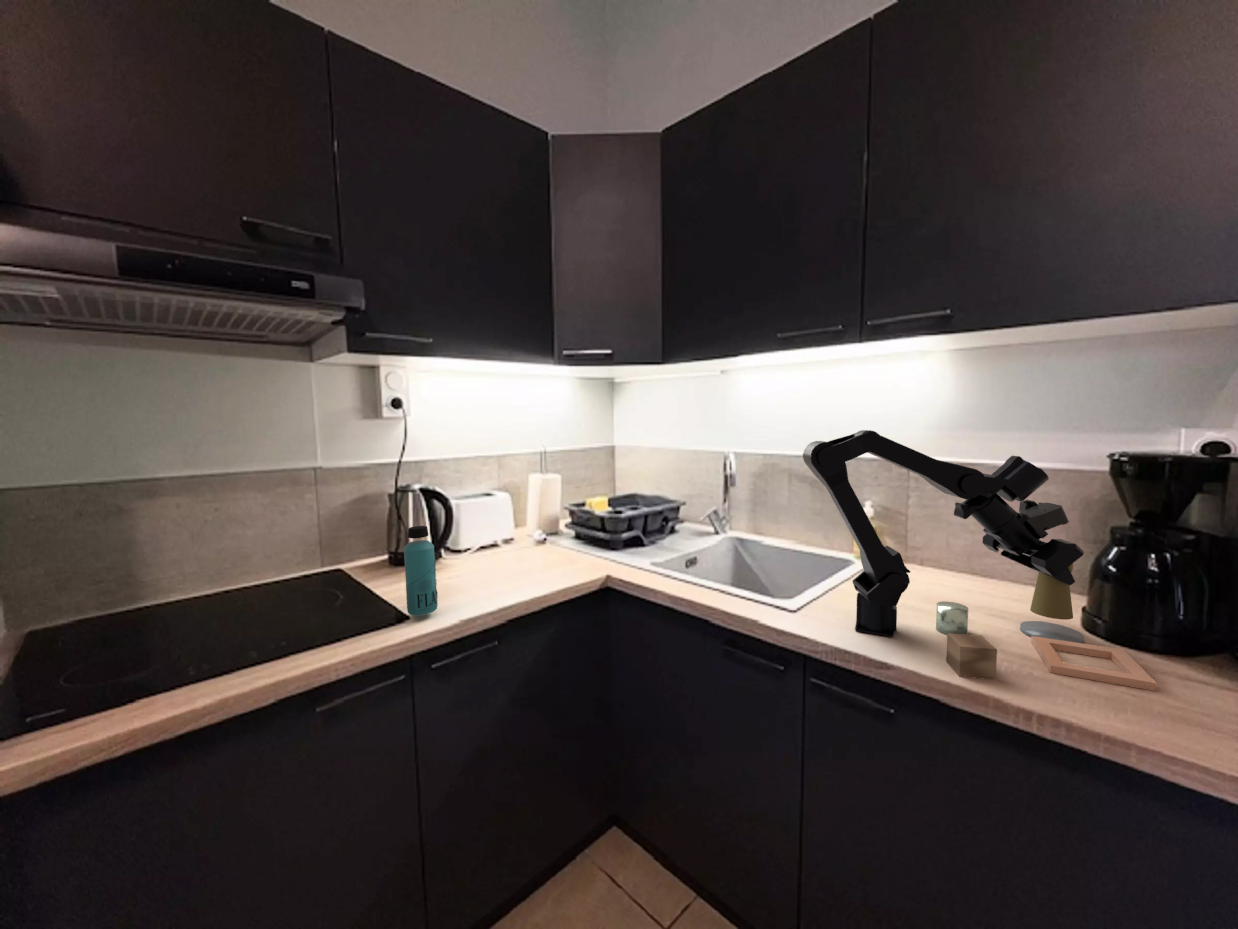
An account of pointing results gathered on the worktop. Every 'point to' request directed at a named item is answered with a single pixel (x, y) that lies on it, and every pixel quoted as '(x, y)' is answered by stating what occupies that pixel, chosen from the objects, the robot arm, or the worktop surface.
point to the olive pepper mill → (1052, 598)
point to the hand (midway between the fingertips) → (1061, 578)
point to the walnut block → (971, 656)
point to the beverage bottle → (420, 573)
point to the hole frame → (1129, 676)
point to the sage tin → (951, 618)
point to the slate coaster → (1051, 631)
